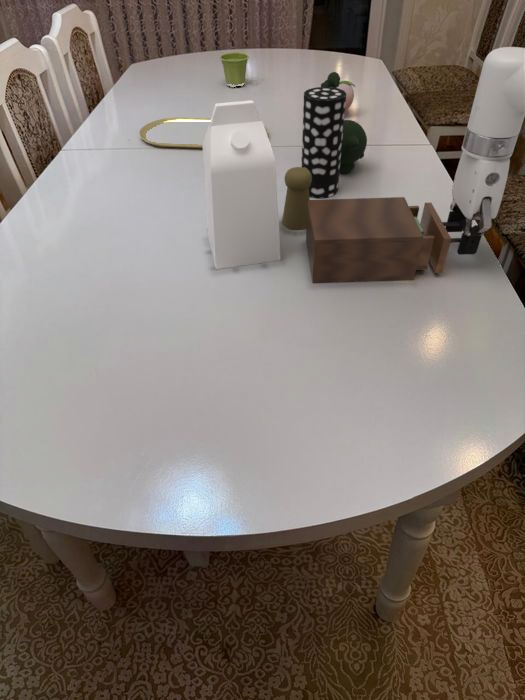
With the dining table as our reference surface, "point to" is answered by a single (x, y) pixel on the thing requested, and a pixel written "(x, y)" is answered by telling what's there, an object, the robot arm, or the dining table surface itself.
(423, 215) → the drawer
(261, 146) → the milk
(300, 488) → the dining table surface
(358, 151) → the toy figurine
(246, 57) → the plant pot
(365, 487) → the dining table surface
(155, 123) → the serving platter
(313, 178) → the spotted tube
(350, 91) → the decorative fruit
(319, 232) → the cabinet
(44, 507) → the dining table surface
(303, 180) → the olive pawn
